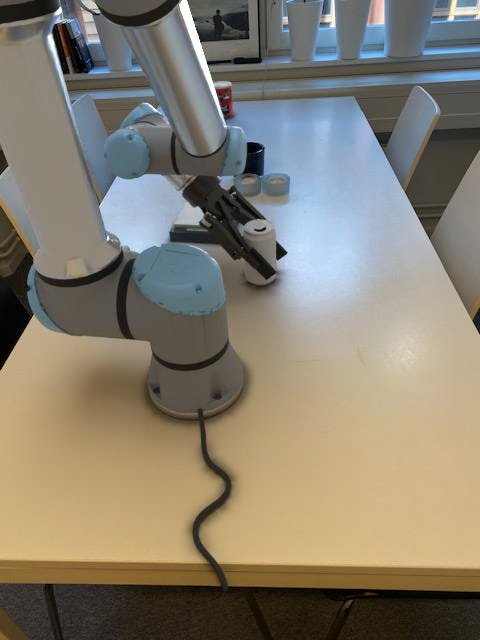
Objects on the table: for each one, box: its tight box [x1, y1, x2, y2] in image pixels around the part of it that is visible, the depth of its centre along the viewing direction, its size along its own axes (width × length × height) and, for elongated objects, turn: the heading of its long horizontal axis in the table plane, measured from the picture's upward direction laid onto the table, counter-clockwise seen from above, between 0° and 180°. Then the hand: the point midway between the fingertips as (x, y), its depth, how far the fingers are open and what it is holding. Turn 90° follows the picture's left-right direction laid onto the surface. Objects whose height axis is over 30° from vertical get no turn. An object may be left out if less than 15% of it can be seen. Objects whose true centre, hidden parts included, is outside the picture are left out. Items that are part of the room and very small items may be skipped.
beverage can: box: [242, 219, 277, 286], centre depth 97 cm, size 6×6×12 cm
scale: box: [168, 200, 238, 244], centre depth 117 cm, size 15×14×3 cm
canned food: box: [212, 80, 234, 120], centre depth 177 cm, size 8×8×11 cm
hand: (277, 265), depth 97 cm, fingers closed on beverage can, 6 cm apart
